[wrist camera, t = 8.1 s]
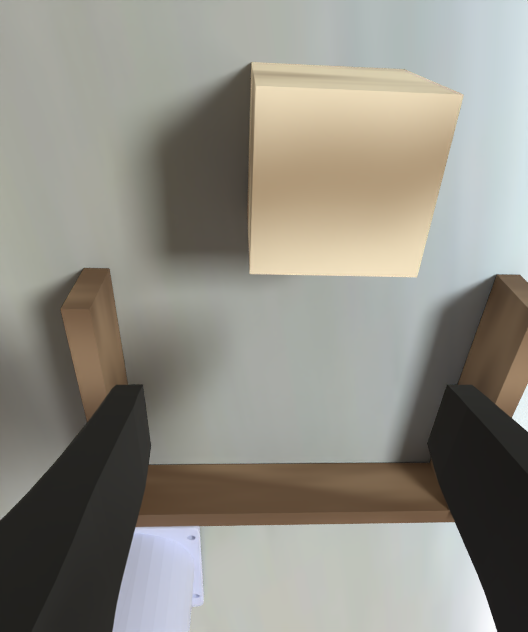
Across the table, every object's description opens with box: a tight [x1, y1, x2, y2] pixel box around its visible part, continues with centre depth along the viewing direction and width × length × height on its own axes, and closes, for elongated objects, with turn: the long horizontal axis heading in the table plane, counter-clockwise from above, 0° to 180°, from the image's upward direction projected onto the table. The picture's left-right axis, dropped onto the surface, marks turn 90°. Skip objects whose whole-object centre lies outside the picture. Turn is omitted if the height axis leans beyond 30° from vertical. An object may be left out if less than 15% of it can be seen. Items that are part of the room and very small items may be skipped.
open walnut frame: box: [60, 268, 528, 527], centre depth 22 cm, size 13×18×3 cm
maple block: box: [247, 62, 464, 277], centre depth 15 cm, size 5×5×5 cm
